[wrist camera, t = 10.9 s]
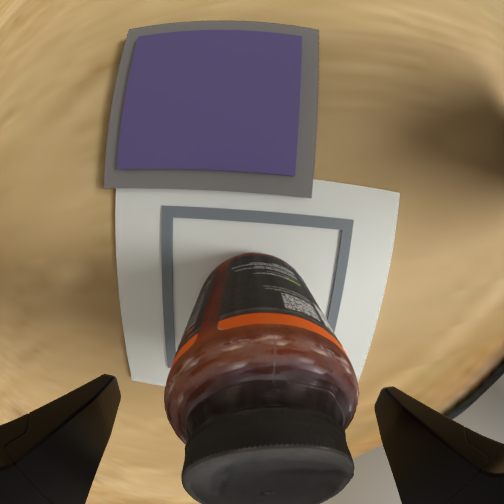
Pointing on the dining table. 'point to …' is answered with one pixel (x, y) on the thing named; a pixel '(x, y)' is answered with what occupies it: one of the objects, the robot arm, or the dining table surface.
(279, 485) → the supplement bottle
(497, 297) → the dining table surface
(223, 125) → the ink pad
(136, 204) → the form board
